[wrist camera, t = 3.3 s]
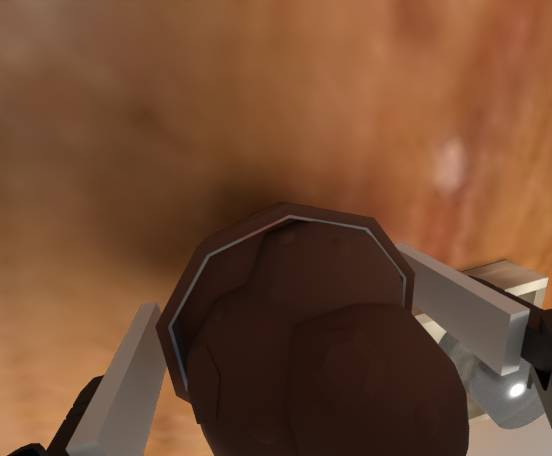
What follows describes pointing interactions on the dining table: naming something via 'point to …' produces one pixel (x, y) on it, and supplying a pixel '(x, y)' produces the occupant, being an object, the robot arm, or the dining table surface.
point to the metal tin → (495, 387)
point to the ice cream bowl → (309, 343)
